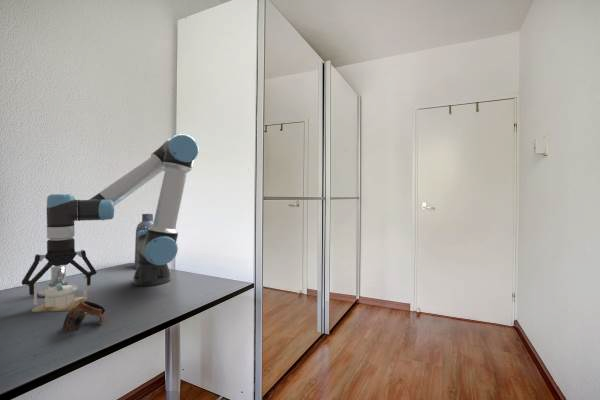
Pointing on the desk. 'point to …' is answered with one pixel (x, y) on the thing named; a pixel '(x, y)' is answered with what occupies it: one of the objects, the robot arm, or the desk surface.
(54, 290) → the cap
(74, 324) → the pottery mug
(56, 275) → the bayonet post
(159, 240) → the robot arm
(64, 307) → the coaster
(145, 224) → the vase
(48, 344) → the desk surface
